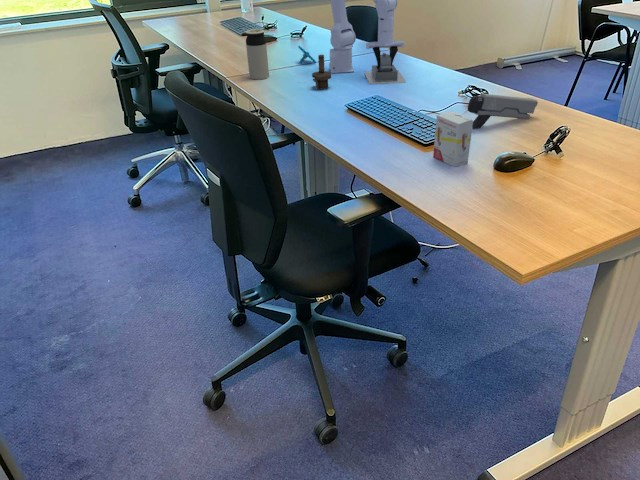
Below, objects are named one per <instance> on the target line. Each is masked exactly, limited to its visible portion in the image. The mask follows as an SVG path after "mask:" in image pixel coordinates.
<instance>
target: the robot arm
mask: <svg viewBox="0 0 640 480" xmlns="http://www.w3.org/2000/svg"><path fill="white" fill-rule="evenodd" d="M329 1H330V6H331V13H332V18H333V19H332V20H333V26H332V27H331V29H330V44H331V46H332V48H329V62H328V63H329V64H328V67H329V70H330V71H329V72H330V73H331V74H338V73H340V74H341V73H343V74H344V73H354V72H355V70H354V68H353V47H354V44H355V42H356V38H357V36H356V33H355V31H354V29H353V25H352V24H351V23H350V22H349V20H348V15H347V8H346V2H345V1H346V0H329ZM372 2H373V3H374V4H375V5H374V6H375V9H376V12H377V17H378V19H377V21H378V23H377V25H378V26H377V41H370V42H366V44H365V48H366V50H369V49H372V51H373V53H374V56H375V60H376V64H377V67H378V68H380V55H381V48H383V49H385V48H386V49H387V48H389V55H390V57H391V66H392V65H393V63H394V59H395V57H396V56H397V53H398V51H399V48H405V41H404V40H394V21H395V10H396V9H397V8H398V7H397V6H398V0H372Z"/></svg>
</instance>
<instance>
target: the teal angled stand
mask: <svg viewBox="0 0 640 480" xmlns="http://www.w3.org/2000/svg"><path fill="white" fill-rule="evenodd" d="M297 48H298V49H299V50H300V51H301V52H302V53H303V54H302V57H301V58H300V59H299V61H298V62H299V64H300V63H301V64H302V63H303V62H304V60H306V59H308V58H309V59H310V60H311V61H312V62H313V63H314V64H315V63H316V62H317V61H316V59H315V58H314V57H312V56H311V54H310V52H309V51H306V50H305V49H304V48H302V46H301V45H298V46H297Z"/></svg>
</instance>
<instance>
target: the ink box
mask: <svg viewBox="0 0 640 480" xmlns="http://www.w3.org/2000/svg"><path fill="white" fill-rule="evenodd" d="M435 121H436V122H435V133H434V145H433V156H432V157H433V158H435V159H437V160H439V161H441V162H443V163H445V164H448V165H450V166H452V167H453V168H457V167H459V166H462V165H465V164H468V163H469V155H470V149H471V140H472V135H473V134H472V133H473V128H472V126H473V121H474V120H473V119H472V118H470V117H468V116H466V115H463V114H460V113H458V112H455V111H453V110H452V111H446V112H444V113H440V114H437V115H436V120H435Z"/></svg>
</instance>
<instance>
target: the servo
mask: <svg viewBox="0 0 640 480" xmlns="http://www.w3.org/2000/svg"><path fill="white" fill-rule="evenodd" d="M391 68H392V66H391V57H390V53H386V52H382V53H381V54H380V68H378V71H391Z"/></svg>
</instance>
